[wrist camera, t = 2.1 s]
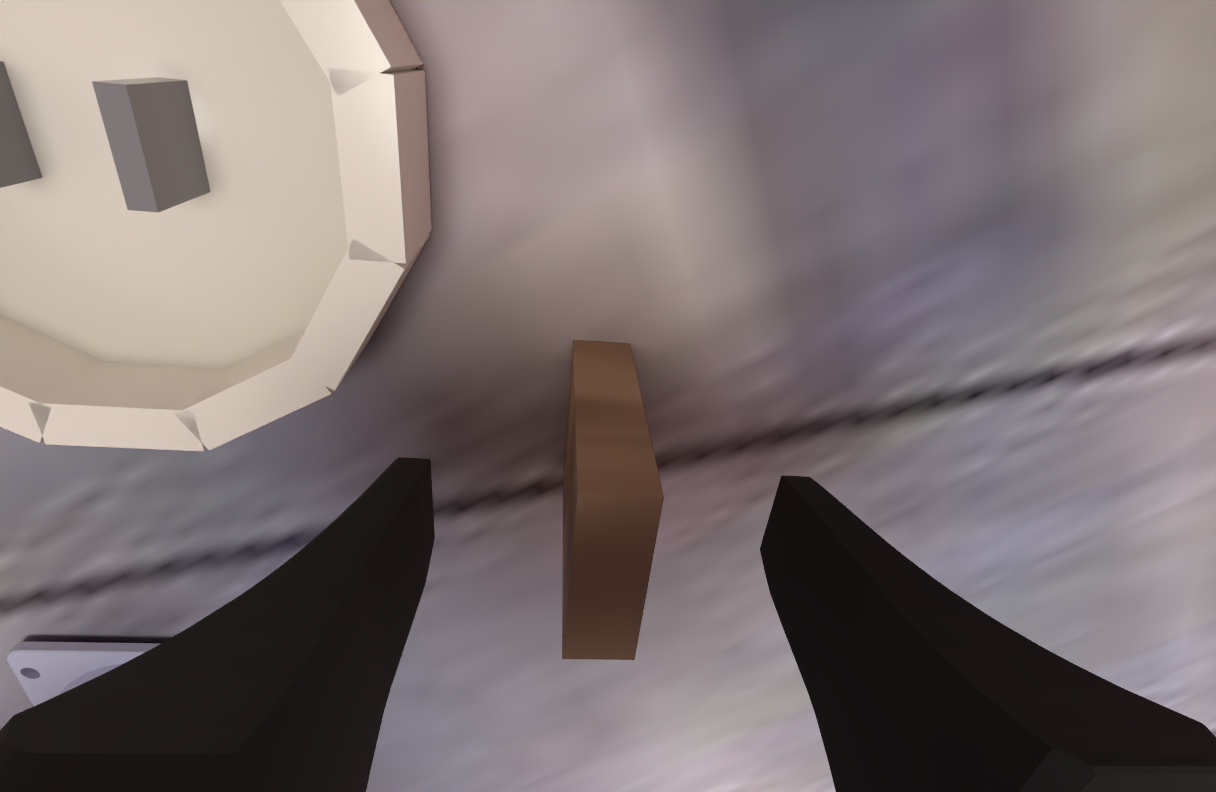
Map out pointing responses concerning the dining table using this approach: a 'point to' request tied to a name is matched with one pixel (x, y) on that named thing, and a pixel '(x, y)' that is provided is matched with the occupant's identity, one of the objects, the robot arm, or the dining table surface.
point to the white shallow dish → (199, 210)
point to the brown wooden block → (606, 505)
